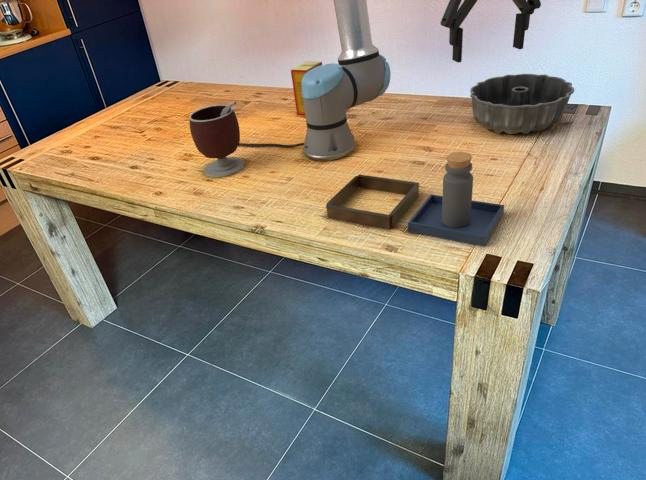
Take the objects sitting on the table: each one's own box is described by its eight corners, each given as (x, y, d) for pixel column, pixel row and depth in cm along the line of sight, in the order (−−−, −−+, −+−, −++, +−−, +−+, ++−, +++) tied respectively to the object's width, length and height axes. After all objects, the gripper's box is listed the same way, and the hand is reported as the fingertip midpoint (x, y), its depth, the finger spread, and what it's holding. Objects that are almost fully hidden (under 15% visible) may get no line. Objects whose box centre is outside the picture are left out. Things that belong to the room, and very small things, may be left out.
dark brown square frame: (325, 217, 120) (324, 205, 118) (358, 185, 130) (357, 174, 129) (391, 230, 111) (390, 217, 109) (420, 195, 122) (420, 182, 120)
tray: (407, 231, 110) (407, 222, 109) (430, 202, 118) (430, 194, 117) (484, 246, 101) (485, 236, 100) (503, 214, 109) (504, 205, 108)
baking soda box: (312, 116, 177) (306, 69, 168) (297, 115, 181) (290, 68, 171) (326, 106, 183) (321, 60, 173) (311, 105, 186) (306, 60, 177)
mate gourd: (193, 178, 151) (174, 112, 139) (215, 157, 161) (199, 94, 149) (239, 179, 145) (224, 110, 133) (258, 158, 155) (246, 92, 143)
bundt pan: (590, 125, 137) (598, 88, 131) (505, 150, 133) (509, 113, 128) (525, 100, 158) (529, 67, 152) (450, 121, 154) (451, 88, 149)
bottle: (471, 227, 106) (476, 161, 98) (442, 228, 108) (444, 163, 99) (468, 213, 111) (473, 149, 102) (441, 214, 112) (443, 151, 104)
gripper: (441, -51, 92) (438, 70, 104) (571, -77, 93) (553, 45, 105) (424, -52, 98) (424, 62, 110) (547, -77, 99) (533, 39, 111)
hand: (487, 54), depth 108 cm, fingers open, 13 cm apart
